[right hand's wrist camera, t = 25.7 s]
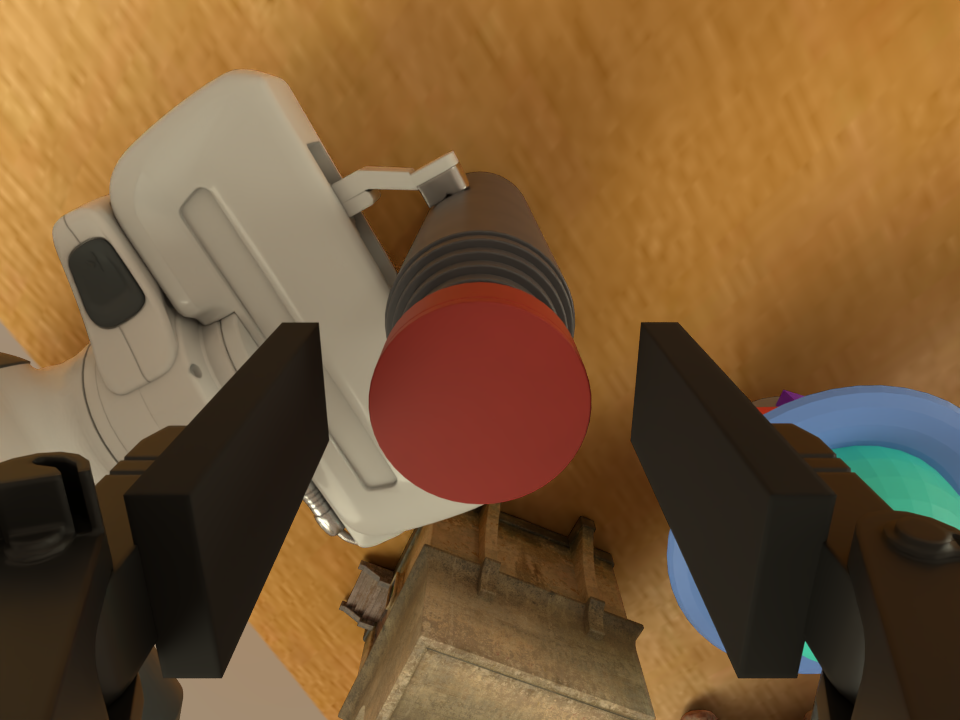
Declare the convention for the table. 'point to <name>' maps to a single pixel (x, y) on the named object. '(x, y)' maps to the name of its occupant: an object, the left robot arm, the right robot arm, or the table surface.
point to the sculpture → (708, 719)
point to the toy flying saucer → (861, 464)
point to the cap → (479, 394)
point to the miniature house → (495, 627)
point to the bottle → (480, 250)
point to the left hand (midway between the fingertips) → (498, 239)
